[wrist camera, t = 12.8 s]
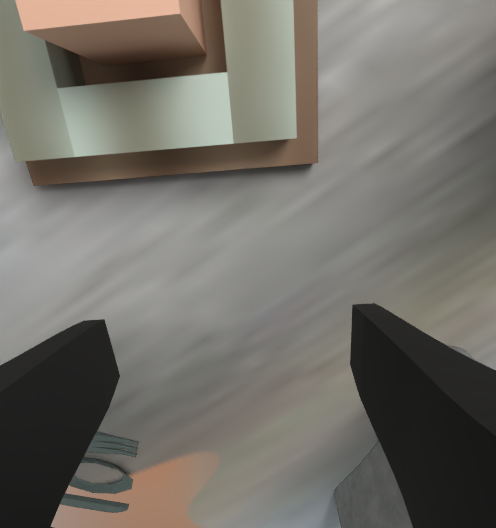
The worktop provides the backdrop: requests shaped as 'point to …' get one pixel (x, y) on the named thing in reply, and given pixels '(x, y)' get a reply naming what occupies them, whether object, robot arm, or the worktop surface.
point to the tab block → (118, 28)
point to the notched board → (204, 154)
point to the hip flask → (373, 493)
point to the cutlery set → (102, 445)
